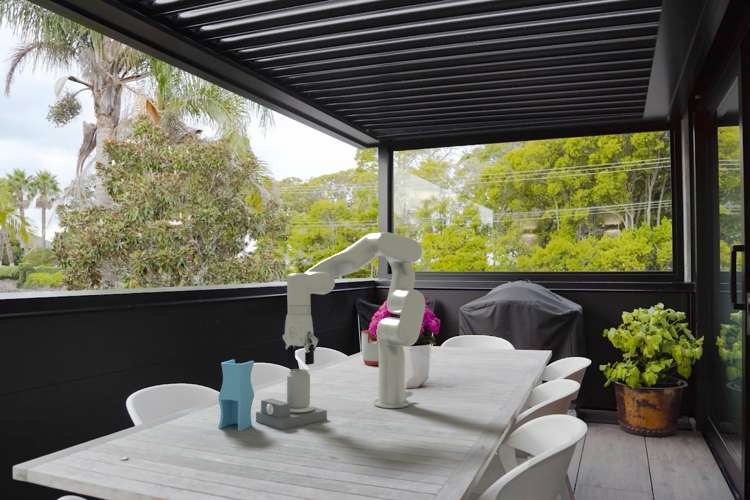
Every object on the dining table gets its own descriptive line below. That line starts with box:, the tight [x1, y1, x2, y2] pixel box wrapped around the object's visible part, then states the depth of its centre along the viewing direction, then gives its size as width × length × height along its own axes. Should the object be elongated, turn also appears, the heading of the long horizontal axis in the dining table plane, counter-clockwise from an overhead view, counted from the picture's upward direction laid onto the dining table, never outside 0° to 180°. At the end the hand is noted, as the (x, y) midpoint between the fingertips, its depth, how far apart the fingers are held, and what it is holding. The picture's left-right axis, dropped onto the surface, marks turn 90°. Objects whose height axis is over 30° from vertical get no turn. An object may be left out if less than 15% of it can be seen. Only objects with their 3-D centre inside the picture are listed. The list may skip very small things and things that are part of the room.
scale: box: [255, 398, 328, 430], centre depth 197 cm, size 18×14×7 cm
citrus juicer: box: [360, 329, 379, 366], centre depth 313 cm, size 16×17×20 cm
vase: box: [217, 359, 255, 432], centre depth 189 cm, size 8×8×20 cm
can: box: [286, 368, 311, 409], centre depth 199 cm, size 8×8×12 cm
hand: (300, 362), depth 199 cm, fingers open, 9 cm apart
